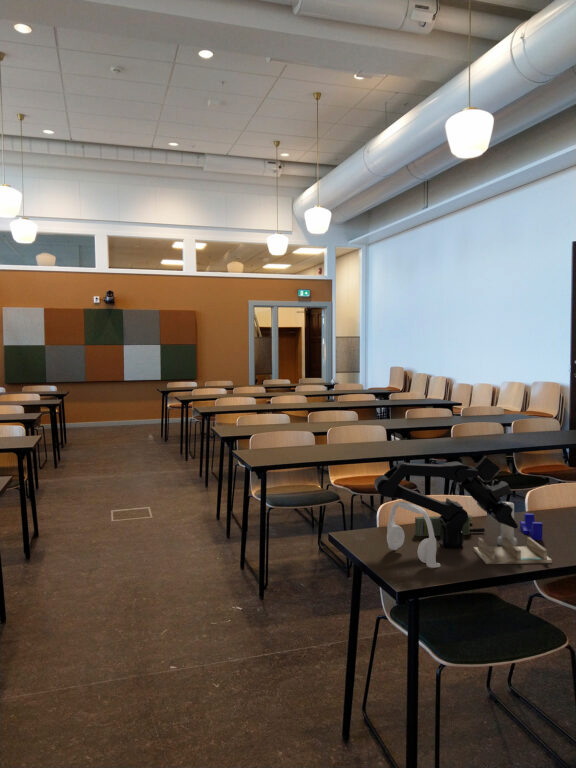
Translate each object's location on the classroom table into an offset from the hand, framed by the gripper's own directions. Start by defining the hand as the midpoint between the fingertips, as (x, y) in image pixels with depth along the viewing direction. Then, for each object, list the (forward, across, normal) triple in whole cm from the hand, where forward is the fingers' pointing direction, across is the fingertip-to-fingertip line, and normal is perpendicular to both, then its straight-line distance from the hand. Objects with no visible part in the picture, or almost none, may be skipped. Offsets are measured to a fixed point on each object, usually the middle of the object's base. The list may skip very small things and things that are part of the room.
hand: (511, 523), depth 188 cm
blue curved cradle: (+13, +10, -2) cm, 17 cm away
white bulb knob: (+4, 0, +6) cm, 7 cm away
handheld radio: (-7, +12, +18) cm, 22 cm away
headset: (-20, -12, +31) cm, 39 cm away
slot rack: (+2, -11, +8) cm, 14 cm away
